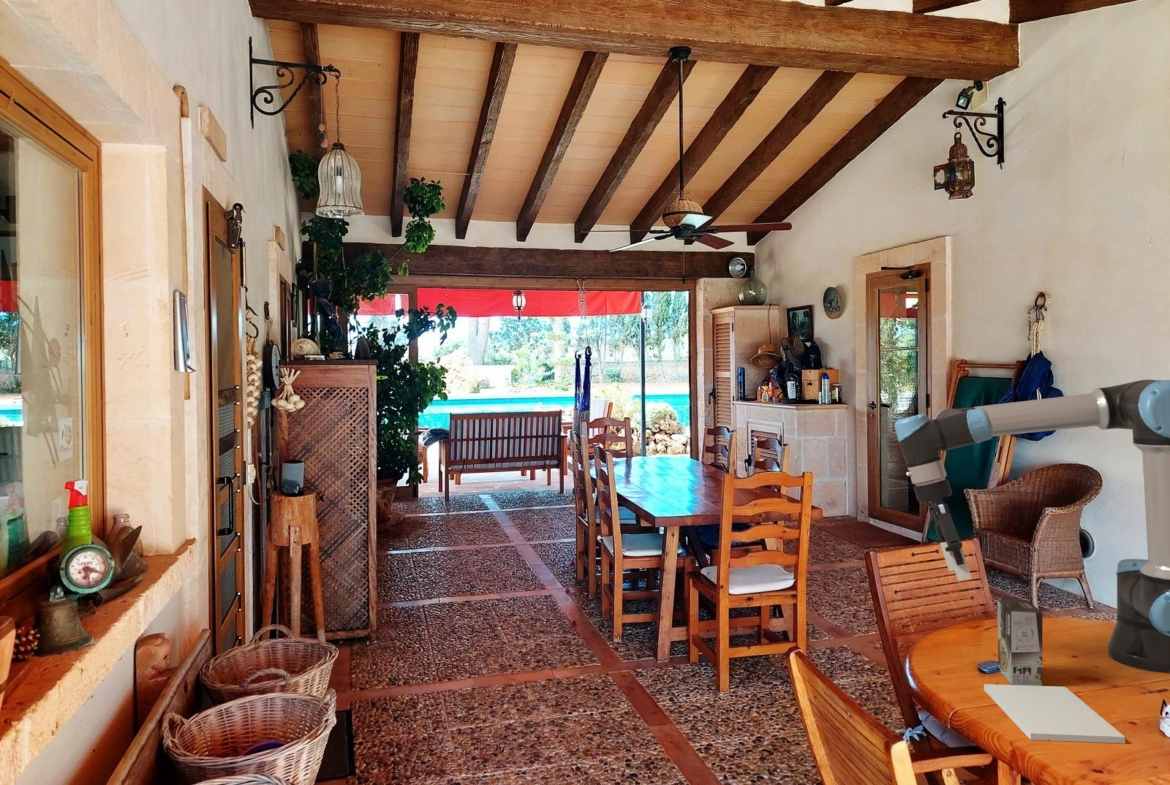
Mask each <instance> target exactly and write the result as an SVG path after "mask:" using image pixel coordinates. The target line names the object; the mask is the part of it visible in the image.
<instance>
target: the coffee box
mask: <svg viewBox="0 0 1170 785" xmlns="http://www.w3.org/2000/svg"><path fill="white" fill-rule="evenodd" d="M1043 617H1044V616H1043V611H1042V610H1040V609H1039V608H1038V607H1036V606H1035V605H1034V604H1032V603H1031V602H1030V601H1029V600H1023V599H998V600H997V648H998V649H997V650H998V651H997V654H998V655H997V657H998V658H997V659H998V660H997V661H998V662H997V665H999V668H1000V671H1001V672H1000V671H999V672H1000V673H1001V675H1002V676H1003V675H1004V676H1003V677H1004V678H1005V679H1006V681H1007V682H1009V685H1025V686H1043Z"/></svg>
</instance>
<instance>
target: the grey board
mask: <svg viewBox="0 0 1170 785" xmlns="http://www.w3.org/2000/svg"><path fill="white" fill-rule="evenodd" d="M983 690H984V692H985V693H986V694H987V695H988V696H989V697H990V698H991V699H992V701H994V702H995V704H996V705H997V706H998V707H999V708H1000V709H1001V710H1002V711H1003V712H1004V713H1005V714H1006V715H1007V716H1008V717H1009V719H1011V721H1012V722H1014V724H1015V725H1016V726H1017V727H1018V728H1019V729H1020V730H1021V731H1022V732H1023V733H1024V734H1025V736H1026V737H1027V738H1028V739H1029V740H1030V741H1048V740H1049V741H1053V742H1054V741H1055V742H1077V743H1079V742H1080V743H1098V744H1099V743H1101V744H1103V743H1104V744H1108V743H1109V744H1123V745H1124V744H1126V737H1125V735H1123V734H1122V733H1121V732H1120V731H1119V730H1117V729H1116V728H1115V727H1114V726H1113V725H1111V724H1110V723H1109V722H1108V721H1107V720H1106V719H1104V718H1103V717H1102V716H1101V715H1100V714H1098V712H1096V711H1095V710H1093V708H1091V707H1090V706H1089V705H1088V704H1087V703H1085V702H1084V701H1083V700H1081V698H1079V697H1078V696H1077V695H1076V694H1074V693H1073V692H1072V691H1071V690H1069V688H1067V687H1066V686H1055V685H1054V686H1051V685H1048V686H1047V685H1042V686H1025V685H1011V684H986V683H985V684H984V683H983Z"/></svg>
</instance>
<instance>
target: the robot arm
mask: <svg viewBox="0 0 1170 785" xmlns="http://www.w3.org/2000/svg"><path fill="white" fill-rule="evenodd" d="M1088 427H1090V428H1091V427H1097V428H1099V429H1100V430H1102V431H1103V430H1104V431H1105V430H1112V429H1113V430H1114V429H1115V430H1117V429H1119V430H1120V429H1121V430H1122V429H1124V430H1131V431H1132V443H1133V444H1132V445H1134V447H1135V448H1137V449H1138V450H1140V451H1141V455H1142V473H1143V488H1144V490H1143V491H1144V507H1145V526H1146V527H1145V529H1146V543H1147V545H1146V546H1147V547H1146V548H1147V559H1146V558H1145V559H1144V558H1143V559H1141V558H1137V559H1136V558H1125V559H1121V560H1119V561H1118V563H1117V566H1116V567H1117V568H1116V569H1117V570H1116V572H1115V575H1116V623H1115V625H1114V626H1115V627H1114V629H1113V631H1112V634H1111V635H1110V638H1109V641H1108V642H1107V643H1108V644H1107V654H1108V656H1109V657H1110V658H1111V659H1113V660H1115V661H1116V662H1118V663H1121V664H1124V665H1126V666H1129V667H1133V668H1136V669H1141V670H1146V671H1152V672H1158V673H1159V672H1162V673H1163V672H1164V673H1170V379H1139V380H1135V381H1130V382H1126V383H1122V384H1117V385H1116V384H1115V385H1112V386H1105V387H1098V388H1094V389H1093V390H1092V391H1091V393H1085V394H1075V395H1067V396H1066V395H1065V396H1058V397H1050V398H1042V399H1041V398H1040V399H1031V400H1024V401H1015V402H1013V401H1012V402H1007V403H1006V402H1005V403H997V404H988V405H987V404H986V405H982V406H981V405H980V406H978V405H977V406H973V407H965V408H964V407H962V408H952V407H951V408H946V409H942V410H941V411H939V412H938V413H937V414H936V415H935V417H934V419H930V418H929V417H928V414H926V413H920V414H916V415H911V416H908V417H904V418H900V419H897V421H895V423H894V429H895V432H896V437H897V441H898V444H899V446H900V450H901V453H902V456H903V458H904V461H905V464H906V468H907V470H908V471H906V476H907V477H910V480H911V484H913V485H915V486H914V487H913V491H914V493H915V497H916V500H917V502H918V503H927V506H928V512H929V514H930V517H931V520H932V522H933V526H934V530H935V533H936V537H937V540H938V542H940V543H939V544H940V548H941V550H942V553H943V557H944V560H945V562H946V563H945V564H946V566H947V570H948V571H949V572H950V571H954V572H955V575H956V578H957V581H958V582H959V581H965V580H969V579H972V575H971V573H970V569H969V566H968V562H967V560H966V557H965V553H964V550H963V543H962V541H961V538H960V536H959V534H958V530H957V529H956V528H957V527H956V525H955V522H954V520H953V517H952V514H951V508H950V507H949V505H948V504H947V503H945V502H944V500H943V499H944V498H948V497H950V496H952V495H953V491H952V487H951V485H950V482H949V480H948V479H947V478H946V477H947V472H946V469H945V465H944V463H943V459H942V458H941V454H940V453H941V452H946V451H949V450H954V449H957V448H962V447H965V446H971V445H976V444H978V445H979V444H980V443H982V442H985V441H989V440H992V439H993V437H998V436H999V437H1000V436H1009V435H1010V436H1011V435H1019V434H1028V433H1029V434H1031V433H1039V432H1040V433H1041V432H1049V431H1050V432H1051V431H1059V430H1069V429H1079V428H1088Z"/></svg>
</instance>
